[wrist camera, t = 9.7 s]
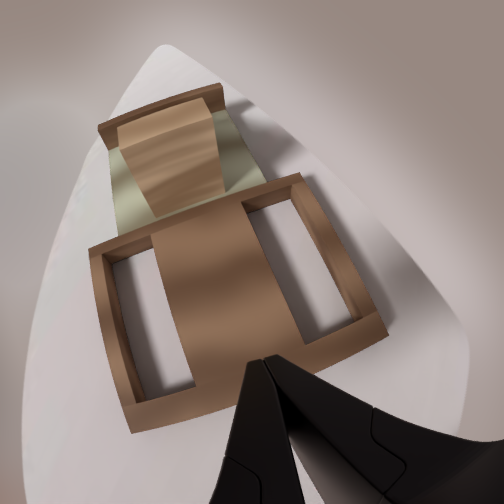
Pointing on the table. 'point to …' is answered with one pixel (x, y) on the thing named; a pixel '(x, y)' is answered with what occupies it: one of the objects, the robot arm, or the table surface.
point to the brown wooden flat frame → (218, 277)
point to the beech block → (173, 156)
